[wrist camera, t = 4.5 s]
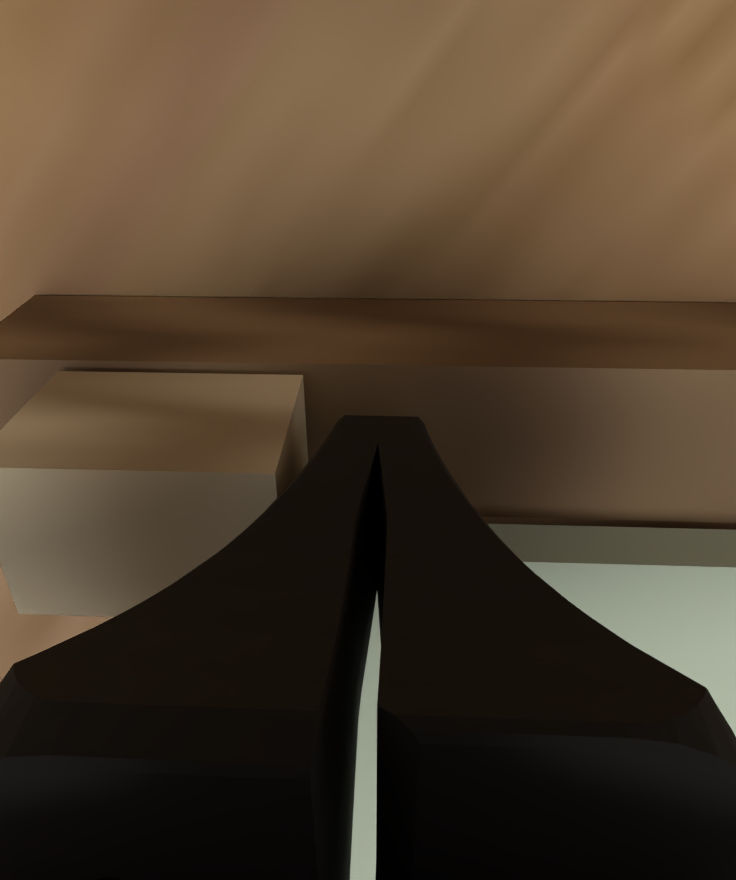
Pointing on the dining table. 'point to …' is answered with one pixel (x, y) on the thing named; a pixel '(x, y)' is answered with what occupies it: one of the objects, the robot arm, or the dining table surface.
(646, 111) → the dining table surface
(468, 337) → the brown wooden tray
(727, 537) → the lid
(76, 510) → the pale grey block
